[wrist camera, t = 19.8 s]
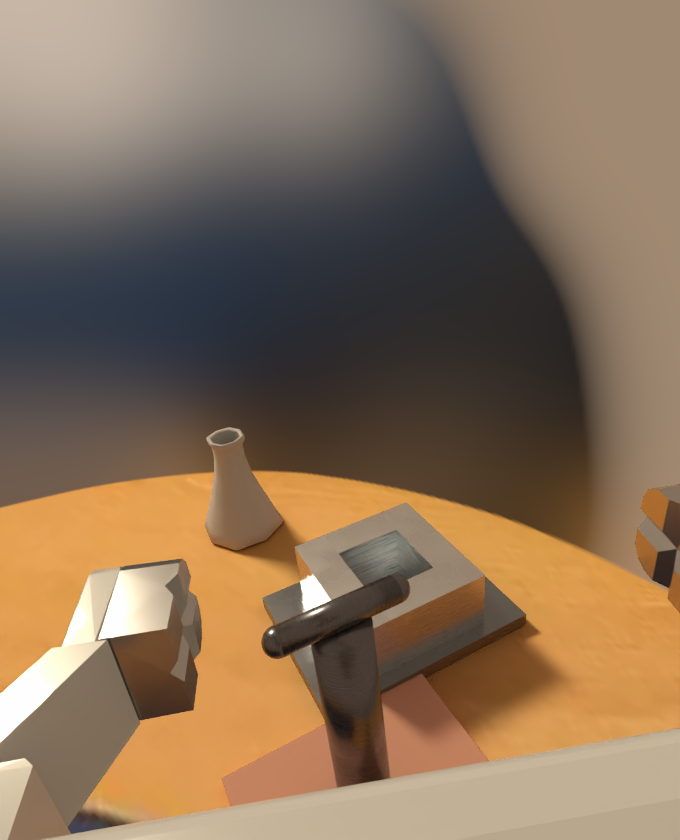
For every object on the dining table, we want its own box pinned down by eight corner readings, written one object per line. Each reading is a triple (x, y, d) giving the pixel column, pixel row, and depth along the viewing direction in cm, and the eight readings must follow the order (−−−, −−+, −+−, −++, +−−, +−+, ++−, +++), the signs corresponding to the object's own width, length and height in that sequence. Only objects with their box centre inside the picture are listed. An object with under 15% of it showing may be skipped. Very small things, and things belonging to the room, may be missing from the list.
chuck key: (316, 855, 31) (271, 661, 24) (294, 803, 33) (249, 614, 27) (435, 784, 33) (424, 591, 27) (407, 740, 36) (391, 554, 29)
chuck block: (329, 728, 38) (319, 669, 35) (264, 607, 47) (252, 554, 45) (525, 624, 43) (529, 567, 41) (431, 535, 53) (429, 484, 50)
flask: (297, 523, 56) (282, 432, 52) (234, 562, 52) (211, 468, 48) (253, 494, 61) (236, 409, 57) (192, 529, 57) (168, 440, 53)
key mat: (286, 977, 27) (284, 971, 27) (223, 784, 35) (221, 778, 35) (525, 816, 32) (526, 809, 32) (421, 679, 40) (421, 673, 40)
